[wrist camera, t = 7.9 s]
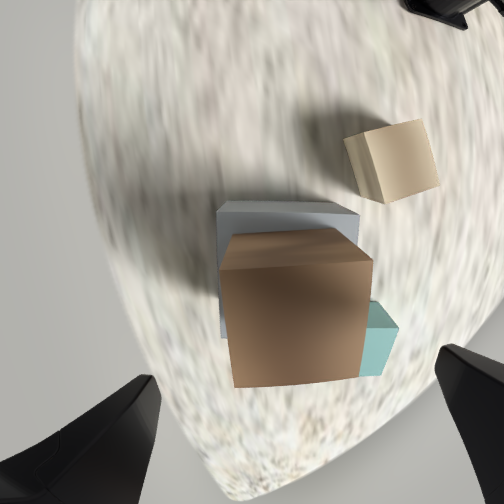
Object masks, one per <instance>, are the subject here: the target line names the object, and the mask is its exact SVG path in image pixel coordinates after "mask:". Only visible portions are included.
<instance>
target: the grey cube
mask: <svg viewBox="0 0 504 504" xmlns="http://www.w3.org/2000/svg"><path fill="white" fill-rule="evenodd" d="M359 220H360V215H359V214H357V213H355V212H353V211H351V210H349V209H347V208H345V207H343V206H341V205H339V204H337V203H329V202H302V201H240V200H234V201H226V202H225V203H224V204H223V205H222V206H221V207H220V208H219V209H218V210H217V211H216V231H217V265H218V290H219V312H220V331H221V338H227V332H226V324H225V317H224V309H223V301H222V293H221V284H220V276H219V269H220V266H221V263H222V261H223V258H224V255H225V253H226V250H227V247H228V245H229V242H230V239H231V237H232V234H242V233H257V232H274V231H291V230H309V229H328V228H336V229H337V230H338V231H340V232H341V233H342V234H343V235H344V236H346V237H347V238H348V239H349V240H350V241H352V242H353V243H354V244H355V245H356V246H357V243H358V232H359Z"/></svg>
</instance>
